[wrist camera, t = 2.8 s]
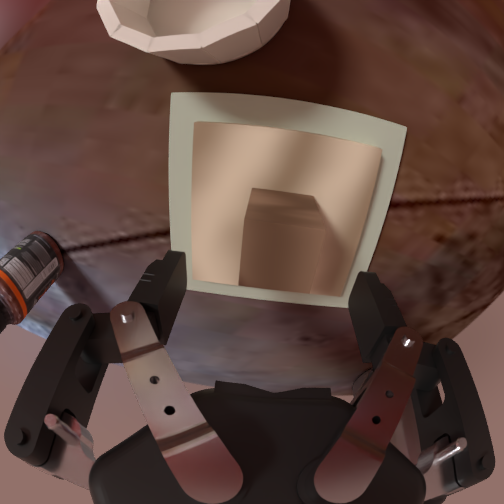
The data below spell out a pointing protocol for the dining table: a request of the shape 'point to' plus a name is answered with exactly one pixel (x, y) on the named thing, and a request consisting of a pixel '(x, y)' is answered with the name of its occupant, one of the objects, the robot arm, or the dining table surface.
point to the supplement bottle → (27, 276)
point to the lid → (277, 206)
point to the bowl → (194, 27)
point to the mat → (289, 117)
